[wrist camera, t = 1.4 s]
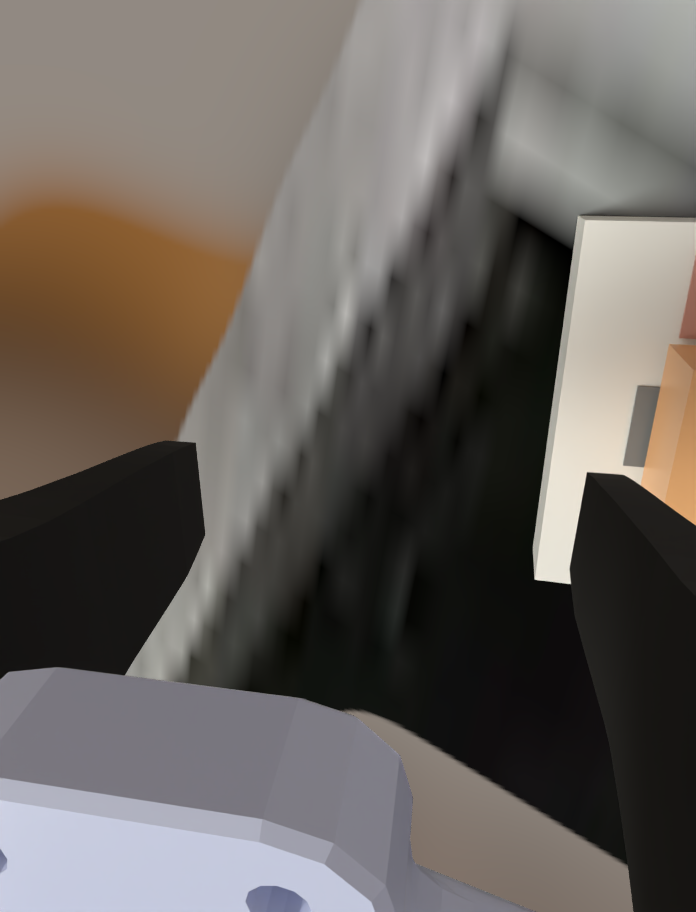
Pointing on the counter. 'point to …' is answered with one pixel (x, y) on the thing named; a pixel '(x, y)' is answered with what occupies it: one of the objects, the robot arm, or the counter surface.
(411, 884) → the robot arm
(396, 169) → the counter surface
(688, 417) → the breaker toggle
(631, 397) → the panel
